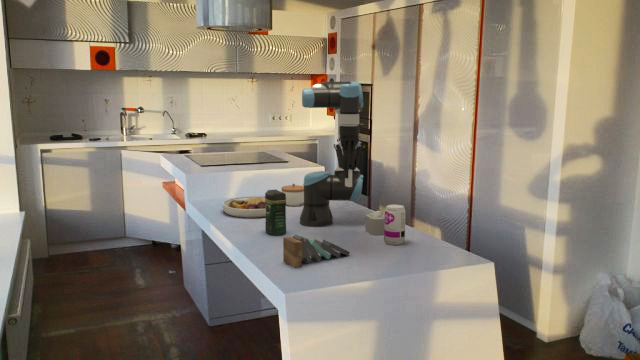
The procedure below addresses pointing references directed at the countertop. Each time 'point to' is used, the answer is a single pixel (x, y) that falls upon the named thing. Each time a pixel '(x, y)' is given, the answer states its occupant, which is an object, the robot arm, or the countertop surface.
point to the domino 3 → (319, 249)
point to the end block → (292, 251)
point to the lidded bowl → (293, 194)
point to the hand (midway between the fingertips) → (348, 186)
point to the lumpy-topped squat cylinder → (375, 223)
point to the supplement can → (394, 224)
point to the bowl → (245, 207)
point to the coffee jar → (275, 212)
